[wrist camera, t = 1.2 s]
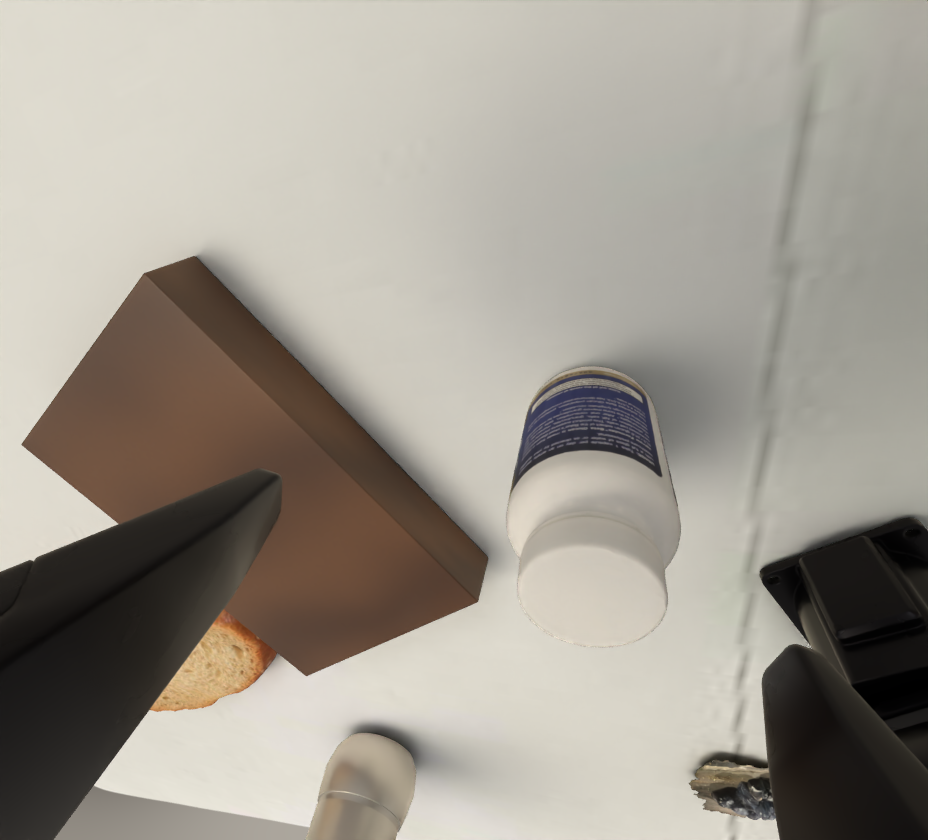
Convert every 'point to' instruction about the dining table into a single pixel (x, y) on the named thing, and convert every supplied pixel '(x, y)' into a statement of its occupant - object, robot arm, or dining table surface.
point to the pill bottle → (593, 510)
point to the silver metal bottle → (364, 790)
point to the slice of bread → (217, 666)
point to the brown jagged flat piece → (735, 789)
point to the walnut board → (251, 447)
